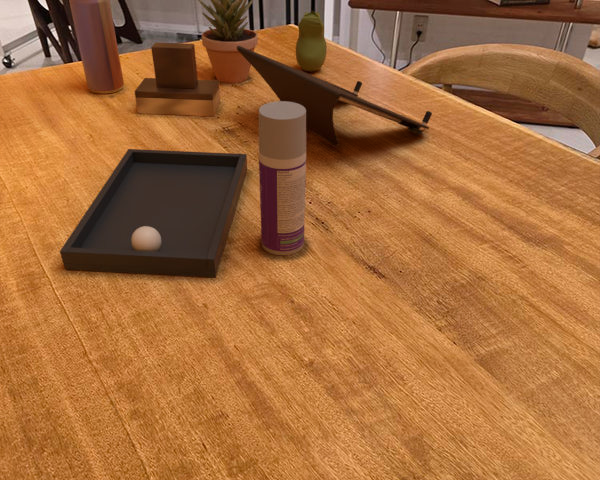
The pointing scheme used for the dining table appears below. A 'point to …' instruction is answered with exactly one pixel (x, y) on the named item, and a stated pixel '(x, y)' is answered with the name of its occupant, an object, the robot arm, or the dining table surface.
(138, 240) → the white ball
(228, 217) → the tray
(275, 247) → the container
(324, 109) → the laptop stand
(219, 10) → the potted plant
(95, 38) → the beverage can
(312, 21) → the pear
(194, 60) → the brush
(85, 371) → the dining table surface
